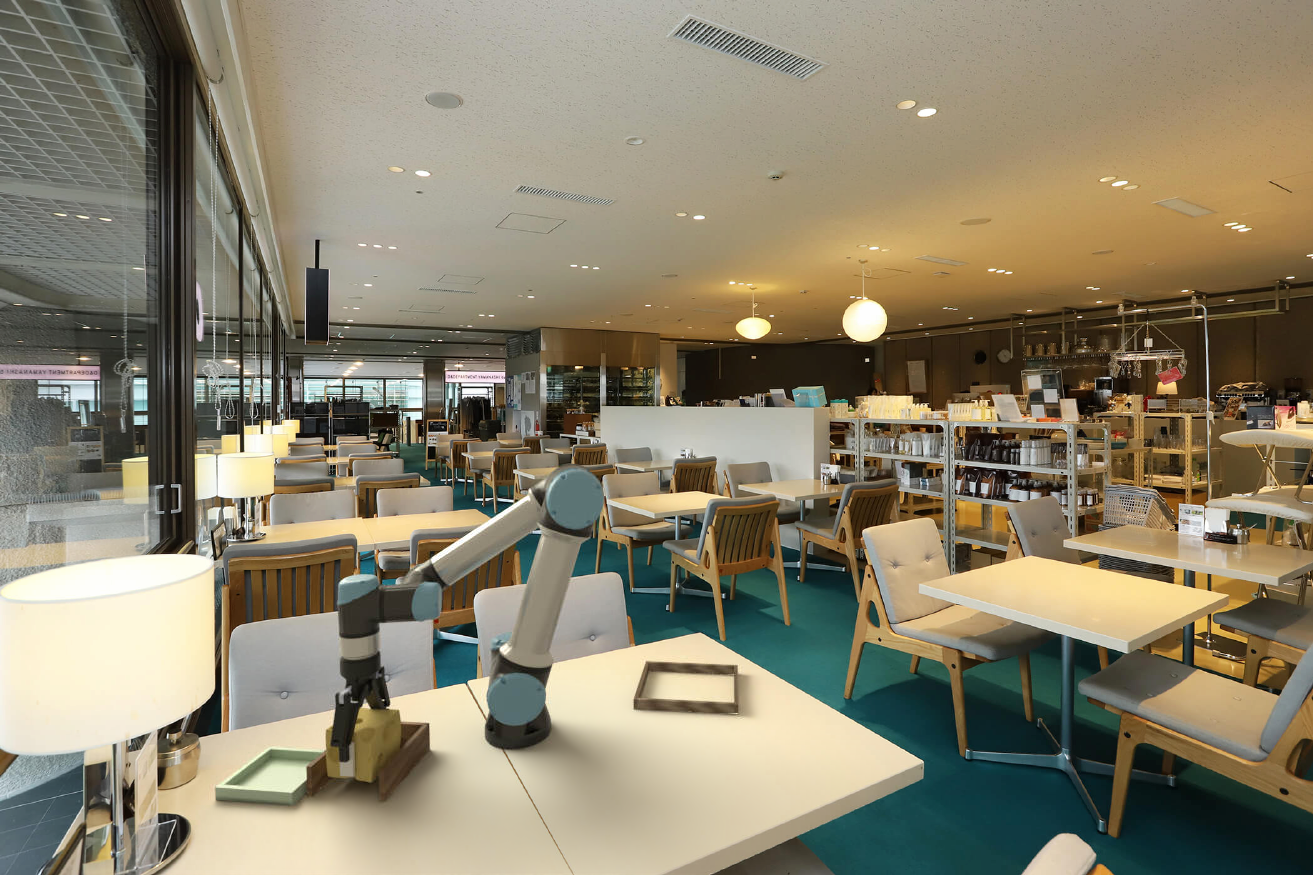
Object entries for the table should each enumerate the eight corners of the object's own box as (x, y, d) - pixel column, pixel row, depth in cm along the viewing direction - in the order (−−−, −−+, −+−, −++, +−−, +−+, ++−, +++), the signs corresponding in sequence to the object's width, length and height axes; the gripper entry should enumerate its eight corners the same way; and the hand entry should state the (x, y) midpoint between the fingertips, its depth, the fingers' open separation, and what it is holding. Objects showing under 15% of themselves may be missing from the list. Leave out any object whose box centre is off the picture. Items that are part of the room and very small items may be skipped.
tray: (339, 761, 140) (338, 750, 140) (292, 805, 125) (291, 792, 125) (269, 757, 142) (269, 746, 142) (215, 799, 127) (215, 787, 127)
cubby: (430, 749, 145) (429, 722, 144) (384, 801, 126) (383, 771, 126) (361, 745, 147) (361, 718, 146) (307, 796, 128) (306, 766, 127)
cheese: (372, 783, 127) (370, 733, 126) (323, 777, 129) (321, 728, 128) (402, 755, 137) (401, 708, 137) (357, 750, 139) (355, 704, 139)
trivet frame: (737, 673, 184) (737, 665, 184) (738, 714, 160) (738, 704, 160) (646, 669, 187) (646, 660, 187) (633, 709, 163) (633, 699, 163)
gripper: (373, 632, 143) (376, 730, 145) (306, 675, 121) (310, 791, 122) (406, 633, 142) (408, 732, 144) (344, 677, 120) (348, 794, 121)
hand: (363, 759), depth 133 cm, fingers closed on cheese, 10 cm apart
